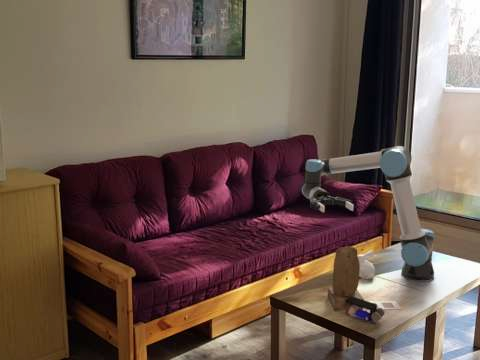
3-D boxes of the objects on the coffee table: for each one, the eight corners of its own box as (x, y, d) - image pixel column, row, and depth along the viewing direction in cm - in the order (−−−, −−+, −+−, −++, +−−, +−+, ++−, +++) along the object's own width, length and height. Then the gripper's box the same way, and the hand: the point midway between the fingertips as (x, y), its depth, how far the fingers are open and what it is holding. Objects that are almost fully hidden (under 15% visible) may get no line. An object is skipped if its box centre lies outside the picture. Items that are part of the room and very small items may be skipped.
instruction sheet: (394, 301, 252) (394, 300, 252) (401, 309, 244) (401, 308, 244) (360, 302, 250) (360, 301, 250) (366, 310, 243) (366, 309, 243)
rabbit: (352, 272, 284) (354, 249, 281) (369, 271, 287) (371, 247, 284) (365, 282, 273) (367, 257, 270) (382, 280, 276) (384, 255, 273)
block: (343, 299, 241) (346, 253, 237) (329, 293, 247) (332, 248, 242) (360, 293, 247) (363, 248, 243) (347, 287, 253) (350, 243, 249)
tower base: (354, 297, 255) (355, 287, 254) (362, 310, 242) (363, 299, 241) (327, 298, 254) (328, 287, 253) (334, 311, 241) (335, 299, 240)
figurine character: (383, 324, 234) (348, 310, 242) (386, 307, 232) (351, 293, 239) (377, 330, 228) (341, 316, 236) (380, 313, 226) (344, 299, 234)
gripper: (344, 203, 278) (364, 215, 258) (294, 205, 272) (311, 218, 252) (344, 188, 276) (365, 199, 256) (295, 190, 270) (311, 201, 250)
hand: (338, 208), depth 254 cm, fingers open, 13 cm apart
